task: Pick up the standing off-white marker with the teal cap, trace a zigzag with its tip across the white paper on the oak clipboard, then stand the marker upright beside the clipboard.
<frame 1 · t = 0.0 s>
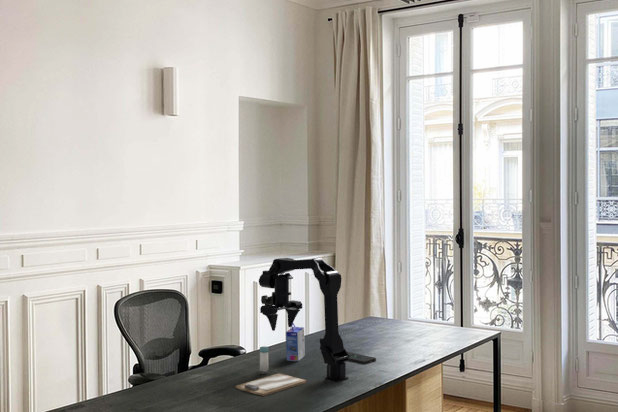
hand: (281, 328, 275), 15 cm above the table, tool pointing down, fingers open, 9 cm apart
smart home device: (351, 359, 288), on the table
clipboard: (271, 385, 248), on the table
ink cartridge box: (295, 358, 287), on the table
marker: (264, 373, 264), on the table
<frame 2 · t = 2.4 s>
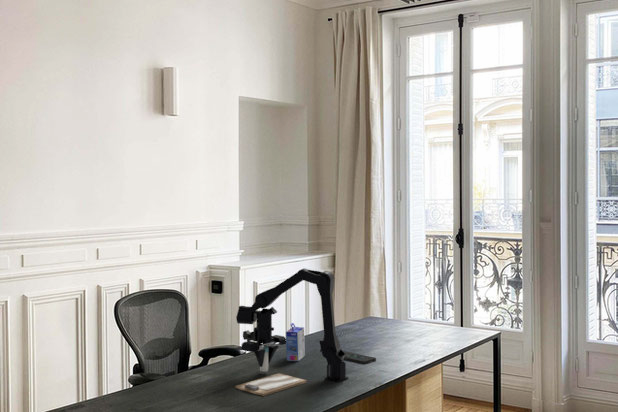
hand: (264, 365, 264), 3 cm above the table, tool pointing down, fingers closed on marker, 3 cm apart
marker: (264, 373, 264), on the table, touching gripper
everything else where it was.
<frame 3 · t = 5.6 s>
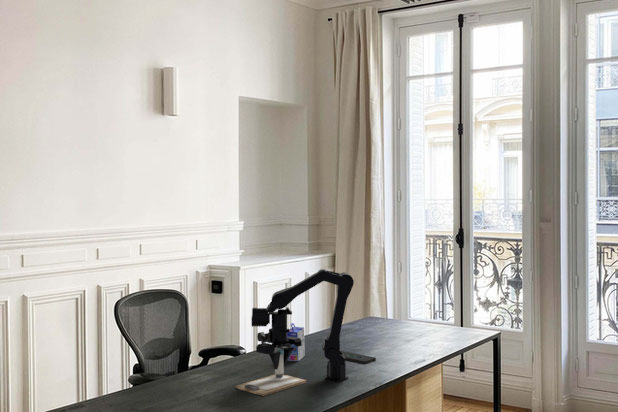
hand: (279, 368, 255), 4 cm above the table, tool pointing down, fingers closed on marker, 3 cm apart
marker: (279, 376, 255), point 1 cm above the table, touching gripper
everything else where it was.
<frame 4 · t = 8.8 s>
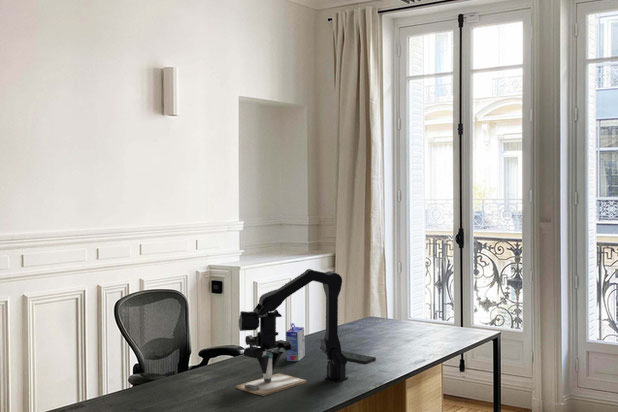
hand: (267, 372, 249), 4 cm above the table, tool pointing down, fingers closed on marker, 3 cm apart
marker: (267, 380, 249), point 1 cm above the table, touching gripper
everything else where it was.
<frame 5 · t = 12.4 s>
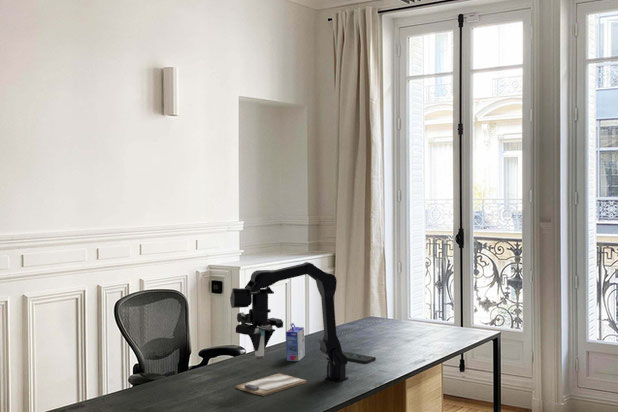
hand: (259, 350, 246), 13 cm above the table, tool pointing down, fingers closed on marker, 3 cm apart
marker: (259, 358, 246), point 10 cm above the table, touching gripper
everything else where it was.
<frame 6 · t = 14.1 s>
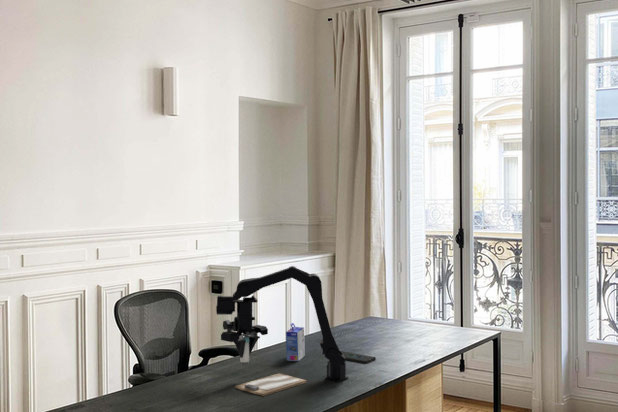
hand: (244, 356, 255), 9 cm above the table, tool pointing down, fingers closed on marker, 3 cm apart
marker: (244, 364, 255), point 6 cm above the table, touching gripper
everything else where it was.
when the fingers open (4 cm above the table, at t = 15.4 s): marker drops 1 cm, on the table.
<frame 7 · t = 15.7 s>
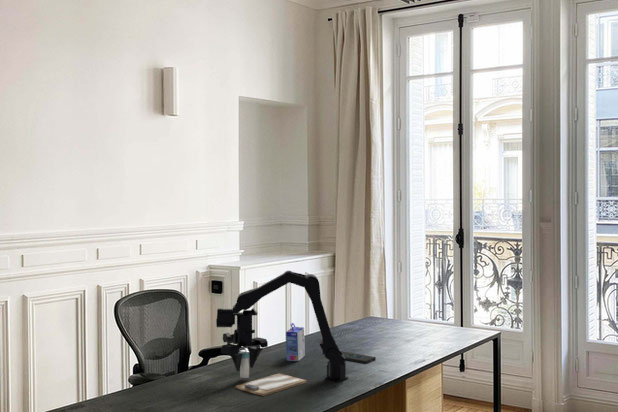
hand: (244, 369, 255), 4 cm above the table, tool pointing down, fingers open, 6 cm apart
marker: (244, 380, 255), on the table
everything else where it was.
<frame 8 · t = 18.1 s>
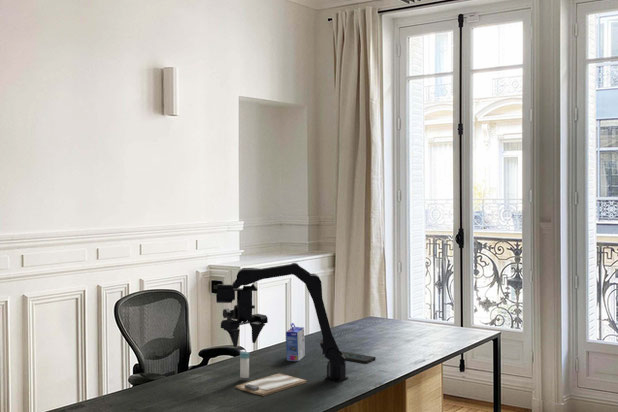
hand: (244, 345, 254), 13 cm above the table, tool pointing down, fingers open, 9 cm apart
at the end: marker 0.0 cm from the target spot, on the table; marker tilted 0°; the gripper is holding nothing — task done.
